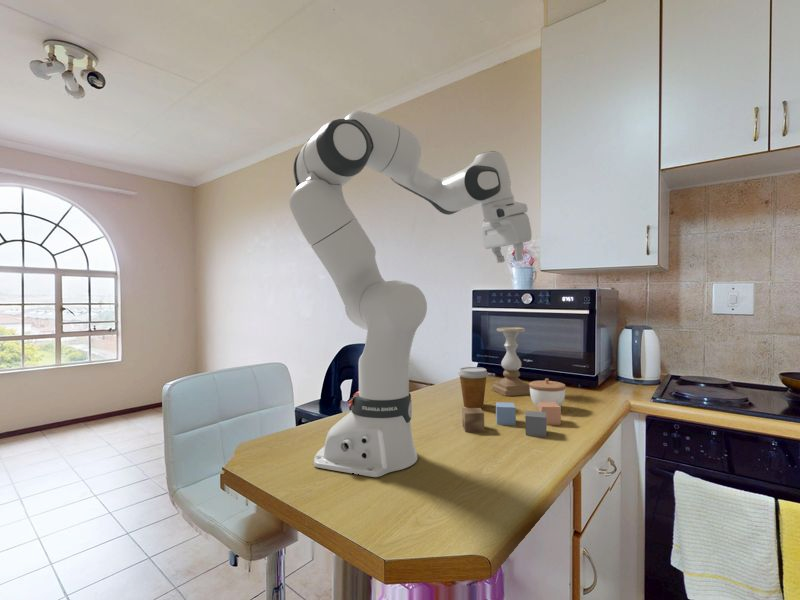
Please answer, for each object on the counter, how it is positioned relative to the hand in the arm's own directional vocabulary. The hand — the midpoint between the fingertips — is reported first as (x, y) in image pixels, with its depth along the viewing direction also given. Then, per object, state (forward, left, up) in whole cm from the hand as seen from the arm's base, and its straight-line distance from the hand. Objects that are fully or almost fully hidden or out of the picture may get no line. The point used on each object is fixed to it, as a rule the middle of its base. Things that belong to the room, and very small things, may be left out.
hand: (509, 261), depth 109 cm
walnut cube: (-11, -6, -45) cm, 47 cm away
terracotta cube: (+10, +3, -45) cm, 47 cm away
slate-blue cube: (-2, +1, -45) cm, 45 cm away
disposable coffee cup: (-11, +17, -45) cm, 50 cm away
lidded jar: (+12, +17, -46) cm, 50 cm away
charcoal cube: (+5, -7, -45) cm, 46 cm away
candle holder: (+3, +38, -45) cm, 59 cm away
